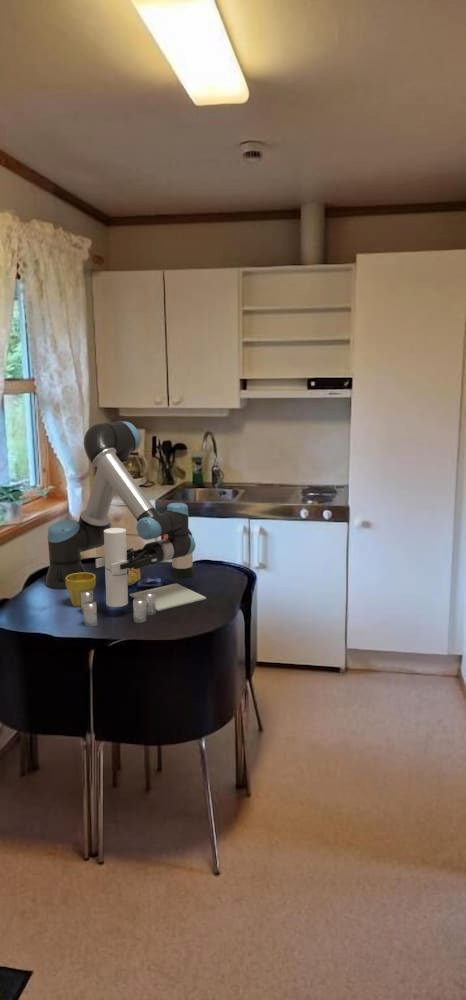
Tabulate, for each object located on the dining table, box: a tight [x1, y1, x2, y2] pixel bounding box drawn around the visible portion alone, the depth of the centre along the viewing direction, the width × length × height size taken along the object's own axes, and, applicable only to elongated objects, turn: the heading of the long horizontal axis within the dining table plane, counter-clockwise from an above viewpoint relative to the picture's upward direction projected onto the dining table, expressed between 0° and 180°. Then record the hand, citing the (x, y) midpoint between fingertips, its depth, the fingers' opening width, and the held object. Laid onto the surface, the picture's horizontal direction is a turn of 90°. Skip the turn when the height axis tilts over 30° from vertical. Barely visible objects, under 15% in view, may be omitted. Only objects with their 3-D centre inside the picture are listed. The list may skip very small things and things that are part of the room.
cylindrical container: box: [103, 527, 129, 608], centre depth 222 cm, size 7×7×25 cm
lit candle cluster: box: [80, 590, 157, 627], centre depth 223 cm, size 22×24×7 cm
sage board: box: [128, 583, 207, 612], centre depth 241 cm, size 20×20×1 cm
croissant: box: [127, 568, 142, 587], centre depth 262 cm, size 21×10×8 cm, turn 11°
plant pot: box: [66, 571, 97, 607], centre depth 235 cm, size 10×10×10 cm
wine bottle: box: [171, 500, 194, 580], centre depth 263 cm, size 8×8×30 cm
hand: (103, 566), depth 218 cm, fingers closed on cylindrical container, 7 cm apart
